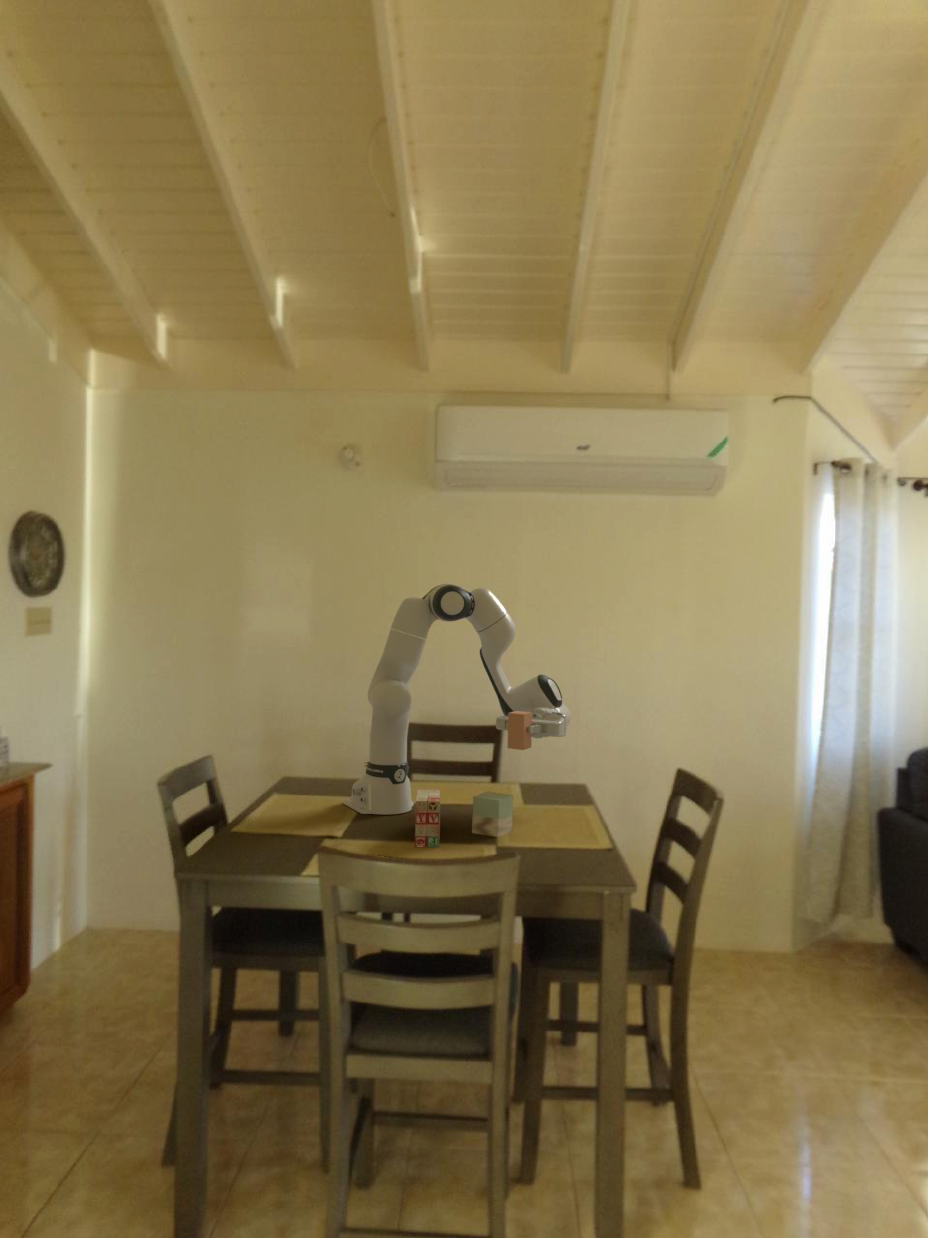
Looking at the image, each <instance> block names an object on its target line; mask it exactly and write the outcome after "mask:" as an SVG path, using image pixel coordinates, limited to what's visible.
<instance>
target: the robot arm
mask: <svg viewBox="0 0 928 1238" xmlns="http://www.w3.org/2000/svg"><path fill="white" fill-rule="evenodd" d="M462 619H466V620H467V621H468V622H469V623H470V625H472V627H473V628H474V630H475V632H476V634H477V635H478V637H479V639H480V643H481V645H480V646H481V647H480V648H479V656H480V660H481V662H482V665H483V668H484V670H485V673H486V675H487V676H488V679H489V681H490V683H491V686H492V688H493V690H494V693H495V694H496V697H497V699H498V702H499V703H498V704H499V706H500V709H501V712H502V713H503V715H501V716H497V717H496V719H495V728H496V729H497V730H500V731H507V732H508V713H510V712H514V711H523V712H532V726H527V730H526V732H527V733H532V737H531V738H534V739H543V738H549V737H552V738H553V737H557V738H563V737H566V735H567V727H568V726H569V724H570V721H571V716H572V715H571V714H572V713H571V711H570V709H569V707H567V705H565V703H564V702H563V697H562V692H561V689H560V687H559V686H558V683H556V681H555V680H554V679H553V678H551V677H549V676H547V675H545V674H538V675H536V676H534V677H532V678H530V679H529V680H526V681H525V682H523V683H520V684H519V685H517V686H516V687H512V686H511V685H510V682H509V680H508V678H507V676H506V674H505V672H504V669H503V667H502V663H501V661H502V656H503V655H504V654H505V652H506V651H507V650H508V649H509V647H510V646H511V644H512V643H513V642H514V639H515V636H516V632H517V630H516V629H517V628H516V624H515V622H514V620H513V618H512V616H511V615H510V613H509V612H508V611H507V609H506V608H505V606H504V605H503V603H502V602H501V601H500V600H499V599H498V597H497V596H496V595H495V594H494V593H493V592H492V591H491V590H490V589H489V588H486V587H479V588H475V589H473V590H471V591H468V590H466V589H464V588H463V587H461V586H458V585H455V584H452V583H442V584H439V585H437V586H435V587H433V588H431V589H430V590H429V591H428V592H427V593H426V594H425V595H423V597H421V598H420V597H415V596H412V597H411V596H410V597H406V598H405V599H404V600H403V601H402V602H401V603H400V606H399V607H398V609H397V611H396V613H395V616H394V618H393V621H392V624H391V626H390V630H389V632H388V636H387V639H386V643H385V646H384V648H383V652H382V655H381V658H379V662H378V663H377V664H378V665H377V666H376V668H375V670H374V673H373V677H371V678H372V679H371V681H370V684H369V687H368V689H367V699H368V702H369V704H370V706H371V707H372V716H371V726H370V727H371V728H370V733H369V760H368V761H367V762H364V767H366V769H365V772H364V773H365V774H364V775H362V777H360V778H359V779H357V780H356V781H355V782H354V783H353V784H352V787H351V797H349V798H346V799H345V800H343V805H345V806H346V807H349V808H350V809H352V810H354V811H356V812H357V813H359V814H361V815H371V814H372V815H398V814H404V813H408V812H410V811H412V809H413V808H412V807H414V804H415V803H414V801H412V794H411V793H412V792H411V779H410V778H409V777H408V774H409V762H408V758H407V757H408V732H409V725H410V716H411V707H412V706H411V704H412V695H411V692H410V690H409V685H410V683H411V680H412V678H413V675H414V674H415V671H416V669H417V668H418V666H419V664H420V662H421V661H420V660H421V658H422V654H423V651H424V648H425V644H426V640H427V638H428V635H429V631H430V629H431V627H432V625H433V624H434V622H436V621H438V620H439V621H442V622H456V621H460V620H462Z"/></svg>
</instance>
